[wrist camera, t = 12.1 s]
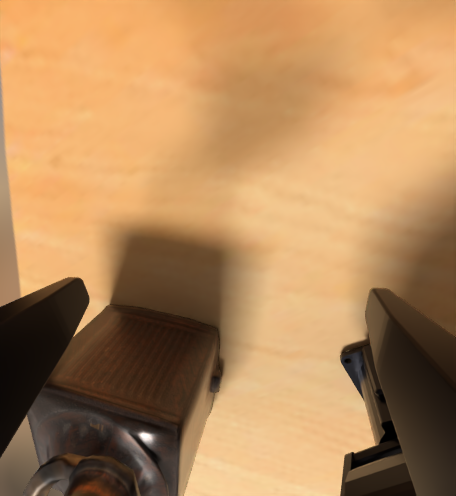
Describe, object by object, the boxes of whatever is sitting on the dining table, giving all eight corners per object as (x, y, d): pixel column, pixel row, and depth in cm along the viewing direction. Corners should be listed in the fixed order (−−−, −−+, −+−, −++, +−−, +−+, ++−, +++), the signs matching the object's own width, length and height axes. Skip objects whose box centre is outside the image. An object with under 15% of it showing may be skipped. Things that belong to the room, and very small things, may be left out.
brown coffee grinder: (218, 414, 28) (113, 808, 12) (113, 386, 30) (-106, 698, 14) (235, 273, 22) (67, 690, 6) (102, 247, 24) (-325, 514, 7)
